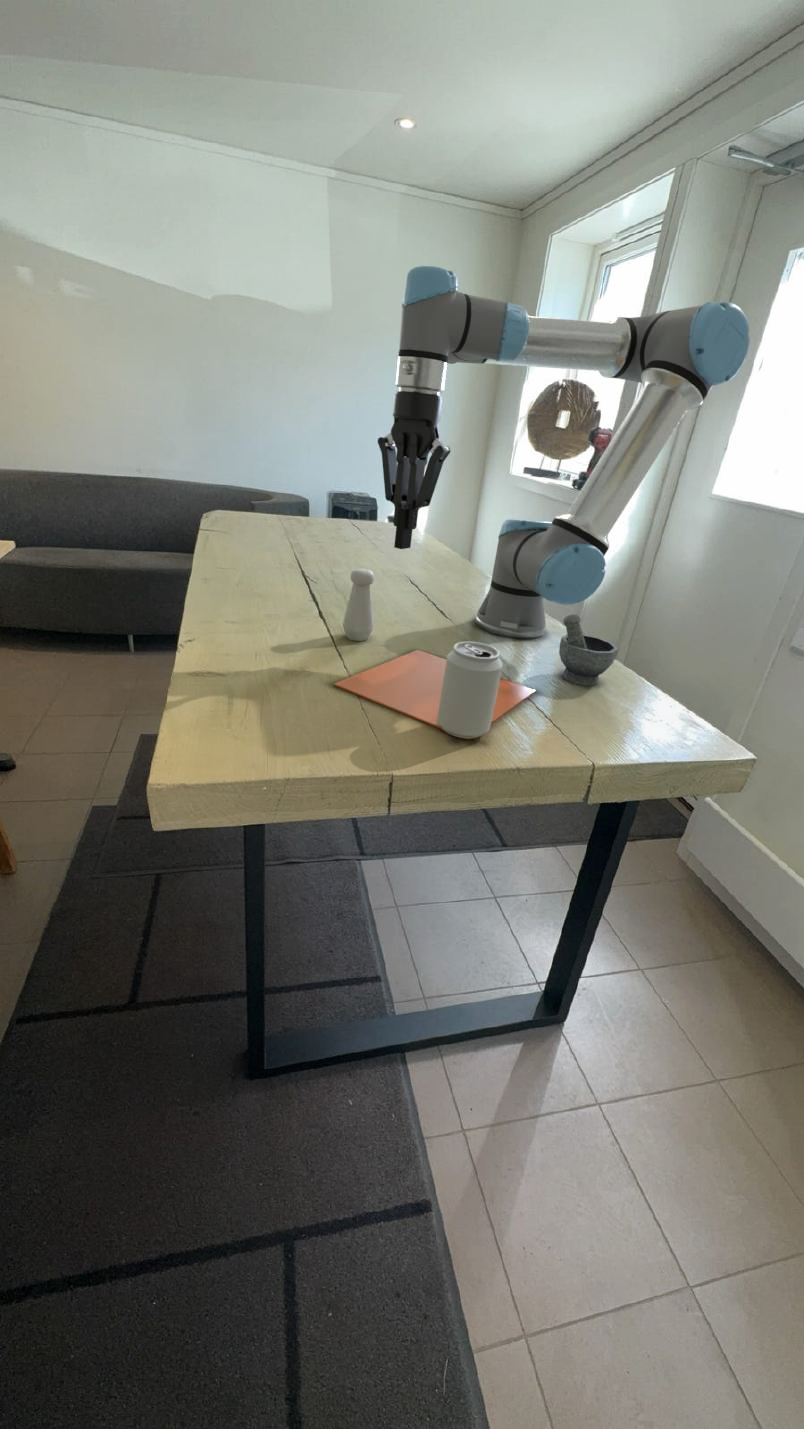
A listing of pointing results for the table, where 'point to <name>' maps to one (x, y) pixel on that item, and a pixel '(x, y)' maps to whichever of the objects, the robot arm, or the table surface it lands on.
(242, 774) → the table surface
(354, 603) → the salt shaker
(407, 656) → the orange square board
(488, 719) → the can
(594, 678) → the mortar and pestle
